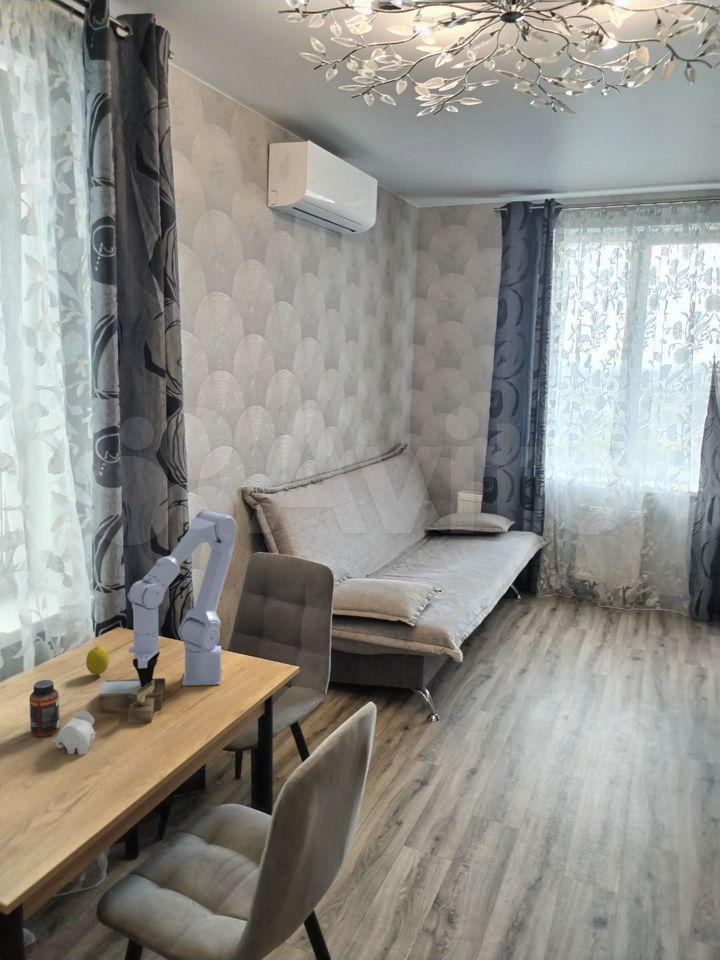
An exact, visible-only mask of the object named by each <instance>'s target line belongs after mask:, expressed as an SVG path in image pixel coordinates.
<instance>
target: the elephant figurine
mask: <svg viewBox="0 0 720 960" xmlns="http://www.w3.org/2000/svg"><path fill="white" fill-rule="evenodd" d="M94 724H95V718H94V717H93V715H92V714H91V713H90V712H88V711H87V710H80V711H78V712H77V713H76V714H75V716H74V717H73V718H70V719H69V720H67V722H66V723H65V725H63V727H61V729H59V732H57V733H56V736H57V737H55V739H53V740H51V741H50V742H49V744H52V743H54V742H55V744H56V747H57V748H58V749H61V748H63V747H64V746H65V748H66V752H67V754H69V755H74V754H75V753H76V752H77V754H78V755H79V756H83V755H85V754H86V753H87V752H88V751H89V748H90V747H92V745H93V743H94V741H95V737H96V734H98V732H97V731H96V732H95V730H94V727H93V725H94Z"/></svg>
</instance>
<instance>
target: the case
mask: <svg viewBox="0 0 720 960" xmlns="http://www.w3.org/2000/svg"><path fill="white" fill-rule="evenodd" d="M152 680H155V684H154V690H153V691H152V693H148V694H147V695H145V705H144V706H138V701H137V702H136V703H134V704H129V703H127V697H128V696H129V695H131V694H113V695H100V696H99V699H98V701H99V702H98V705H99V706H98V707H99V710H98V711H99V713H106V712H107V713H108V712H128V724H142V723H143V724H145V723H146V724H147V723H152V722H153V717H154V714H155V711H161V710H162V706H163V702H164V697H165V693H166V679H165V677H163V678H152ZM117 681H140V680H139V678H130V679H106V680H105V682H117Z"/></svg>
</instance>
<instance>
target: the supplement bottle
mask: <svg viewBox="0 0 720 960" xmlns="http://www.w3.org/2000/svg"><path fill="white" fill-rule="evenodd" d="M54 687H55V685H54V681H53V680H51V679H41V680H39V681H36V682H35V683H34V684H33V691H32V692H31V694H30V695H29V721H30V733H31V734H32V735H33V736H35V737H39V738H42V737H44V738H45V737H49V736H52V735H54V734H57V733H58V731H60V728H61V727H60V725H61V722H60V721H61V720H60V699H59V698H60V695H59V692H58V690H57V689H55V688H54Z"/></svg>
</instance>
